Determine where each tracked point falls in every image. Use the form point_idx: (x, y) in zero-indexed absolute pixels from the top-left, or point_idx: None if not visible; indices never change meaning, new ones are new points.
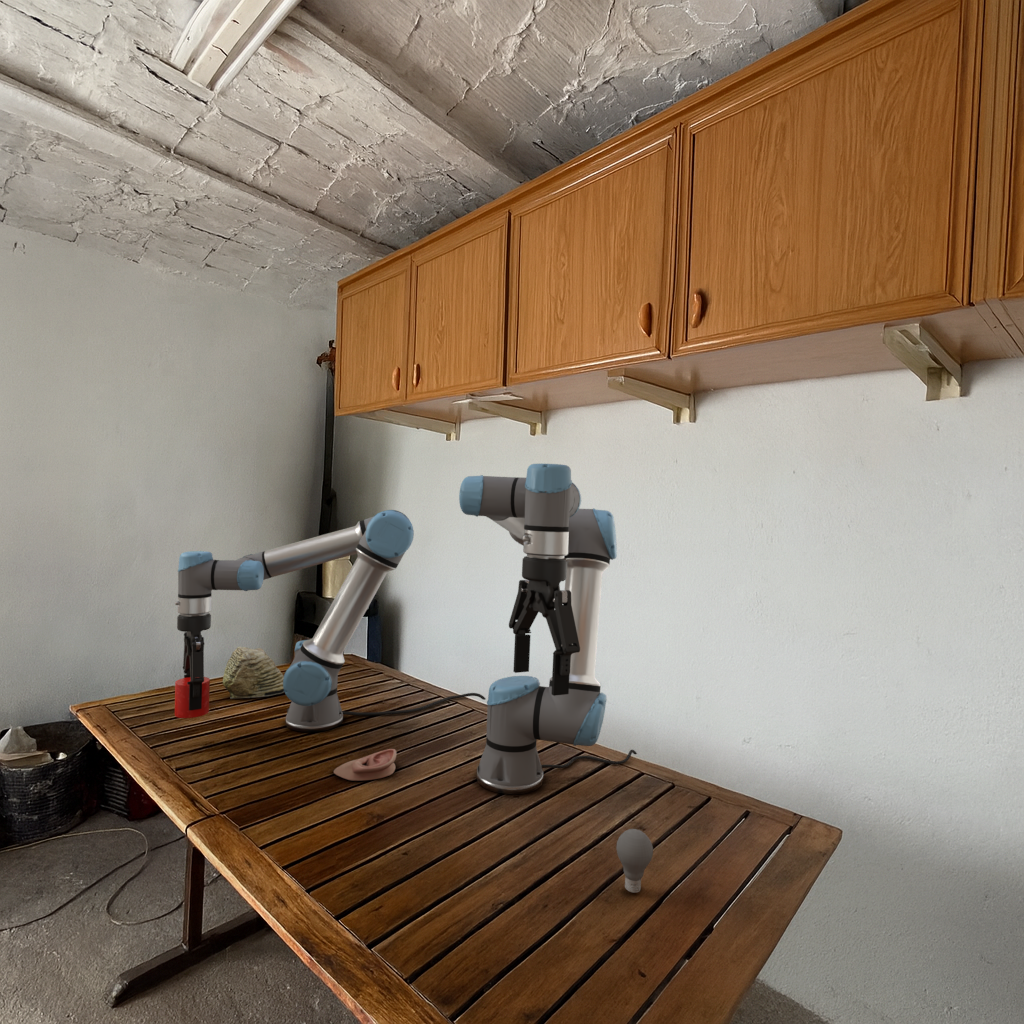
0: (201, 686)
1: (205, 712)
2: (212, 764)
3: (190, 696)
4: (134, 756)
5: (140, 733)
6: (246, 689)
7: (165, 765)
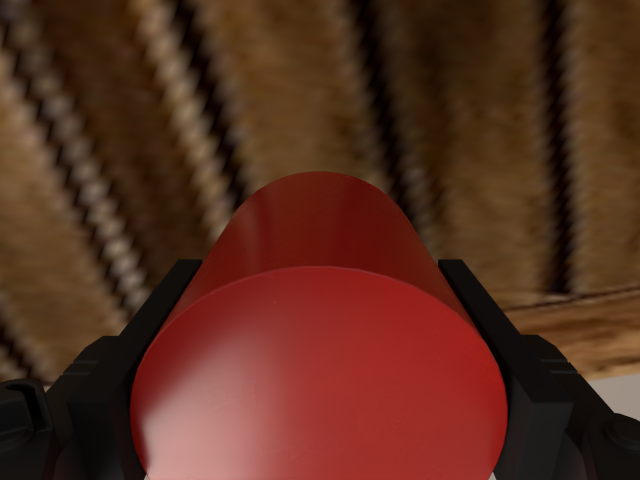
0: (548, 373)
1: (400, 209)
2: (604, 171)
3: None
4: None
5: None
6: None
7: None
